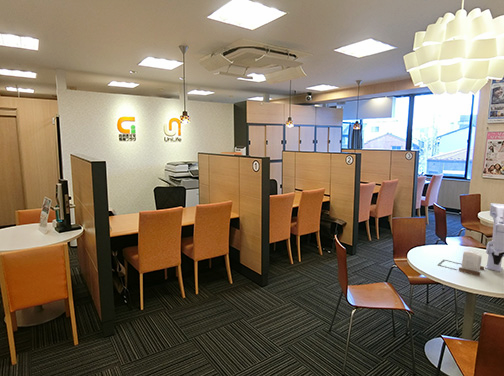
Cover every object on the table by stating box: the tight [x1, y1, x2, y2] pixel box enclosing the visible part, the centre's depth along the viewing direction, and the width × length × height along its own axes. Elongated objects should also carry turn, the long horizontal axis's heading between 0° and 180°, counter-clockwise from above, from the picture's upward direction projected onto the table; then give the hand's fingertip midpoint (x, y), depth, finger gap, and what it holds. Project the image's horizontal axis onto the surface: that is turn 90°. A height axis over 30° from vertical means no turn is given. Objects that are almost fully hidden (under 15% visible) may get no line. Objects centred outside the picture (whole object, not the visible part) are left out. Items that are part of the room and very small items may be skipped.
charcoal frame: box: [437, 259, 462, 271], centre depth 211 cm, size 15×12×1 cm
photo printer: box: [461, 250, 482, 273], centre depth 201 cm, size 10×4×12 cm, turn 31°
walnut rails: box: [458, 265, 485, 277], centre depth 202 cm, size 14×11×2 cm
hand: (496, 263), depth 192 cm, fingers open, 4 cm apart
